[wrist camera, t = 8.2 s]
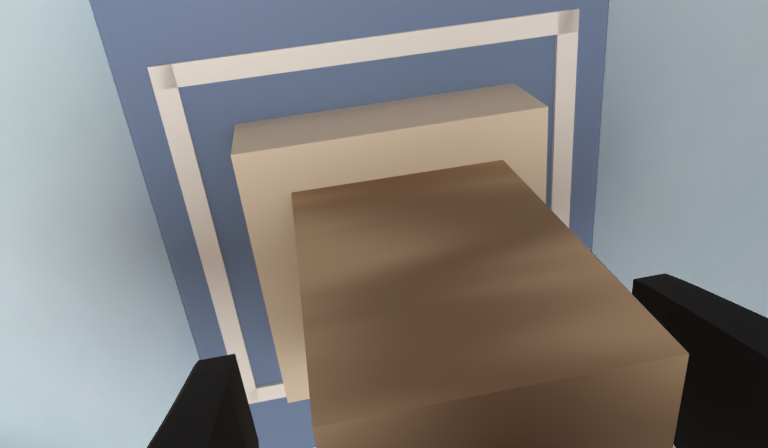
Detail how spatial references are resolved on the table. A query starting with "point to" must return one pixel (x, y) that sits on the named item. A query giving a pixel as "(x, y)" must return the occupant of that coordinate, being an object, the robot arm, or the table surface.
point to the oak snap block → (472, 322)
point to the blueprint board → (317, 89)
